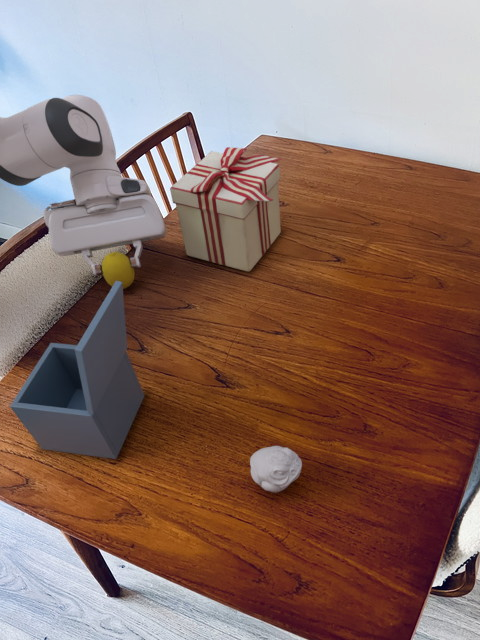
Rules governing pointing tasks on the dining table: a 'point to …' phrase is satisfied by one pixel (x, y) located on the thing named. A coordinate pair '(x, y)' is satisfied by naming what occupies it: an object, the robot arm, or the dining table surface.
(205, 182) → the gift box
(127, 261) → the lemon
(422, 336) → the dining table surface
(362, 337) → the dining table surface
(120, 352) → the chest lid
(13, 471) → the dining table surface
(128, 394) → the chest
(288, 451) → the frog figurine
